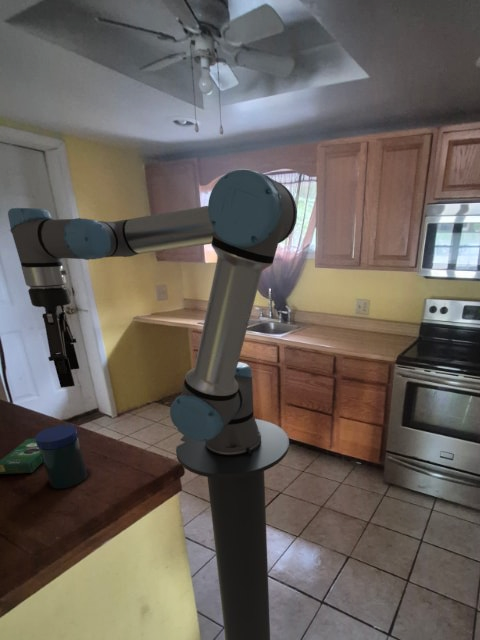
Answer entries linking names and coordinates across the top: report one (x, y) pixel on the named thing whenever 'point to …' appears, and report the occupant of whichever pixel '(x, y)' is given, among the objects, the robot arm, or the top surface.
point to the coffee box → (22, 458)
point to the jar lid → (56, 437)
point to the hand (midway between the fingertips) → (70, 377)
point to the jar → (64, 465)
